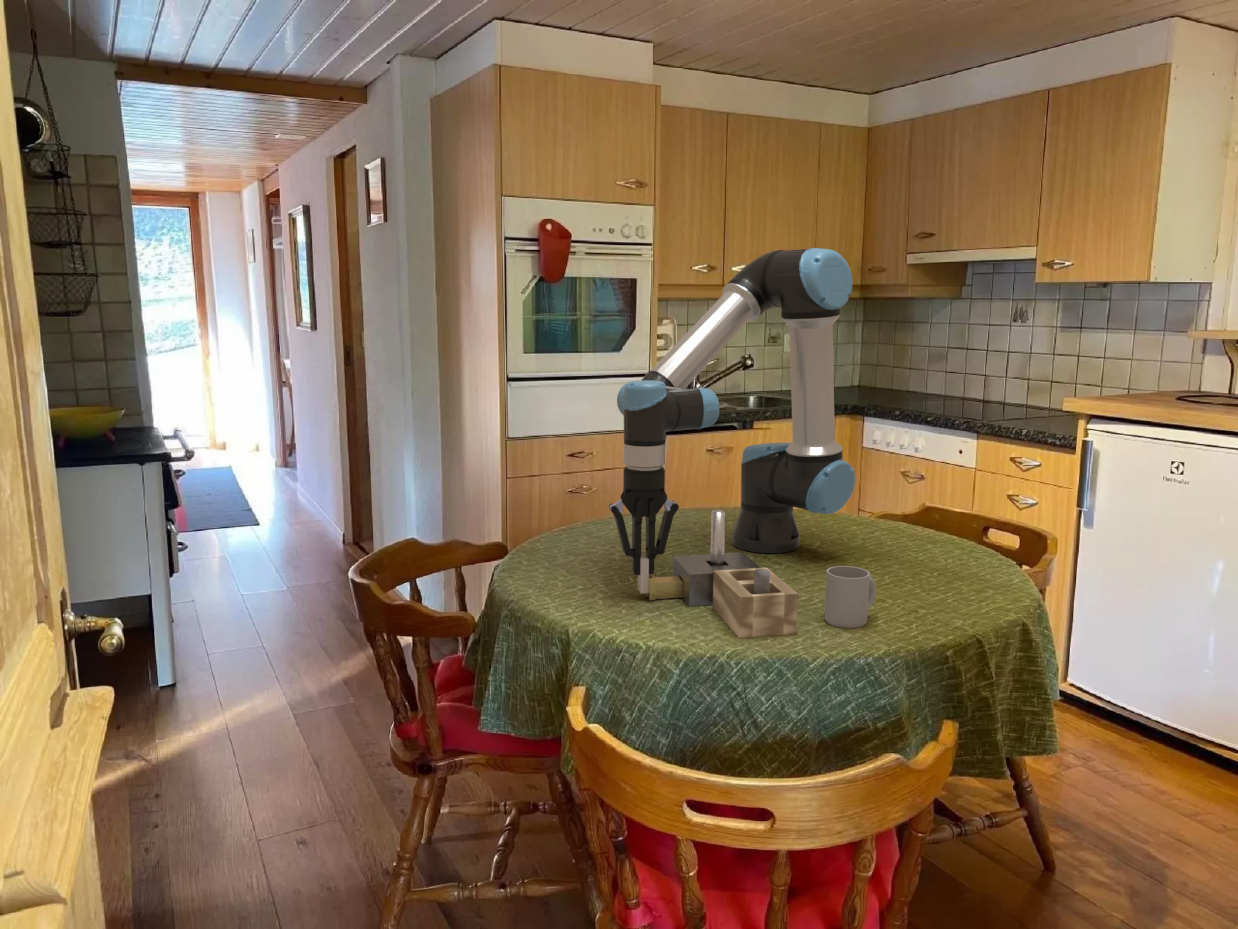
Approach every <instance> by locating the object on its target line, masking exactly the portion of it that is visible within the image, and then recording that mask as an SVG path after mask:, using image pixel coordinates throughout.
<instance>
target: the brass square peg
mask: <svg viewBox="0 0 1238 929" xmlns="http://www.w3.org/2000/svg"><path fill="white" fill-rule="evenodd" d="M644 594H645V596H646V597H647V598H648V601H655V600H662V599H663V600H664V599H678V598H683V579H682V578H681V576H673V575H671V576H656V577H655V576H654V574H649V593H644Z"/></svg>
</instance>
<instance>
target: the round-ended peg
mask: <svg viewBox="0 0 1238 929" xmlns="http://www.w3.org/2000/svg"><path fill="white" fill-rule="evenodd" d="M710 512H711V513H710V514H711V516H710V518H711V520H710V566H724V553H726V552H725V549H726V547H725V545H726V544H725V543H726V542H725V541H726V510H723V509H713V510H711V511H710Z"/></svg>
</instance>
